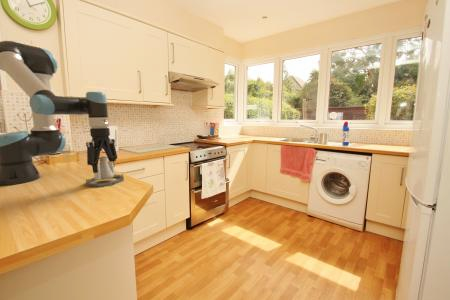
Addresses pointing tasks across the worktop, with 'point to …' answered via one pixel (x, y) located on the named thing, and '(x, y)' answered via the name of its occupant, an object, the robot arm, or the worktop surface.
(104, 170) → the flask
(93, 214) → the worktop surface
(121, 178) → the collar
